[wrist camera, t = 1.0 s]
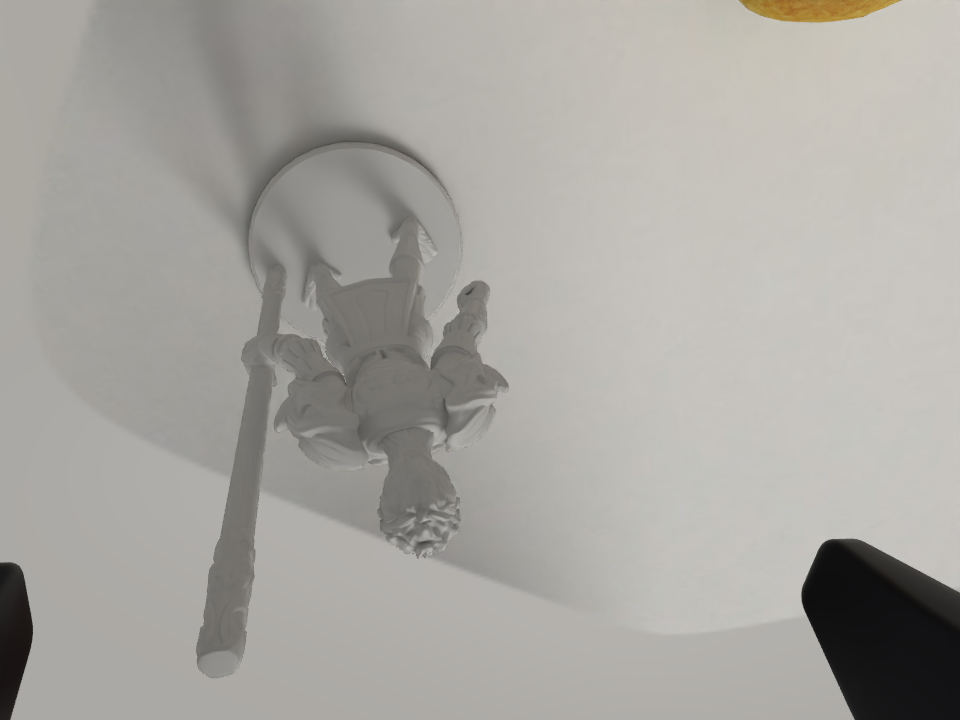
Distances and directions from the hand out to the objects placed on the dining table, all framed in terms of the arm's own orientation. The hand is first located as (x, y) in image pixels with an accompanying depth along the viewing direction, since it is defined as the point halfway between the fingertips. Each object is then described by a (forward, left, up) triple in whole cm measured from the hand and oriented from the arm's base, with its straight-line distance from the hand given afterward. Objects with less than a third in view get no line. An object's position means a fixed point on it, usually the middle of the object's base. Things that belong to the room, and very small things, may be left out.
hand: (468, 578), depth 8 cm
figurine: (0, +1, -12) cm, 12 cm away
